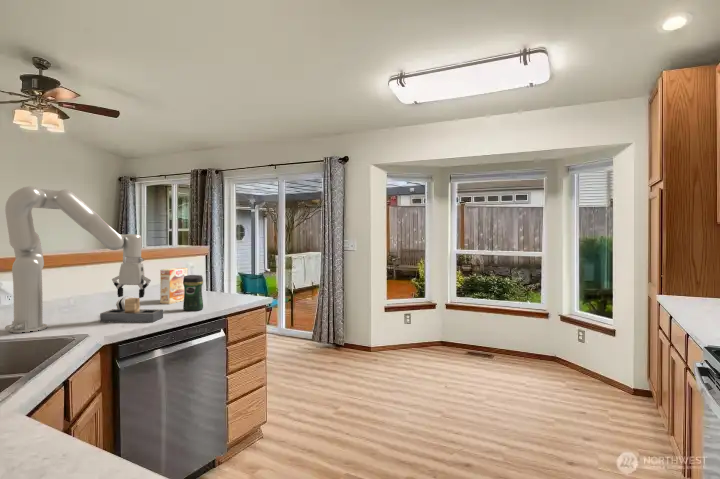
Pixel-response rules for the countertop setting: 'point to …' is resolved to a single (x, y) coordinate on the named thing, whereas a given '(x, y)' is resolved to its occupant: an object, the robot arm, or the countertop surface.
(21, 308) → the robot arm
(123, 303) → the hinge
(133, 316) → the rail
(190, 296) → the coffee jar
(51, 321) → the countertop surface
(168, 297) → the coffeecake box
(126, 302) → the peg
